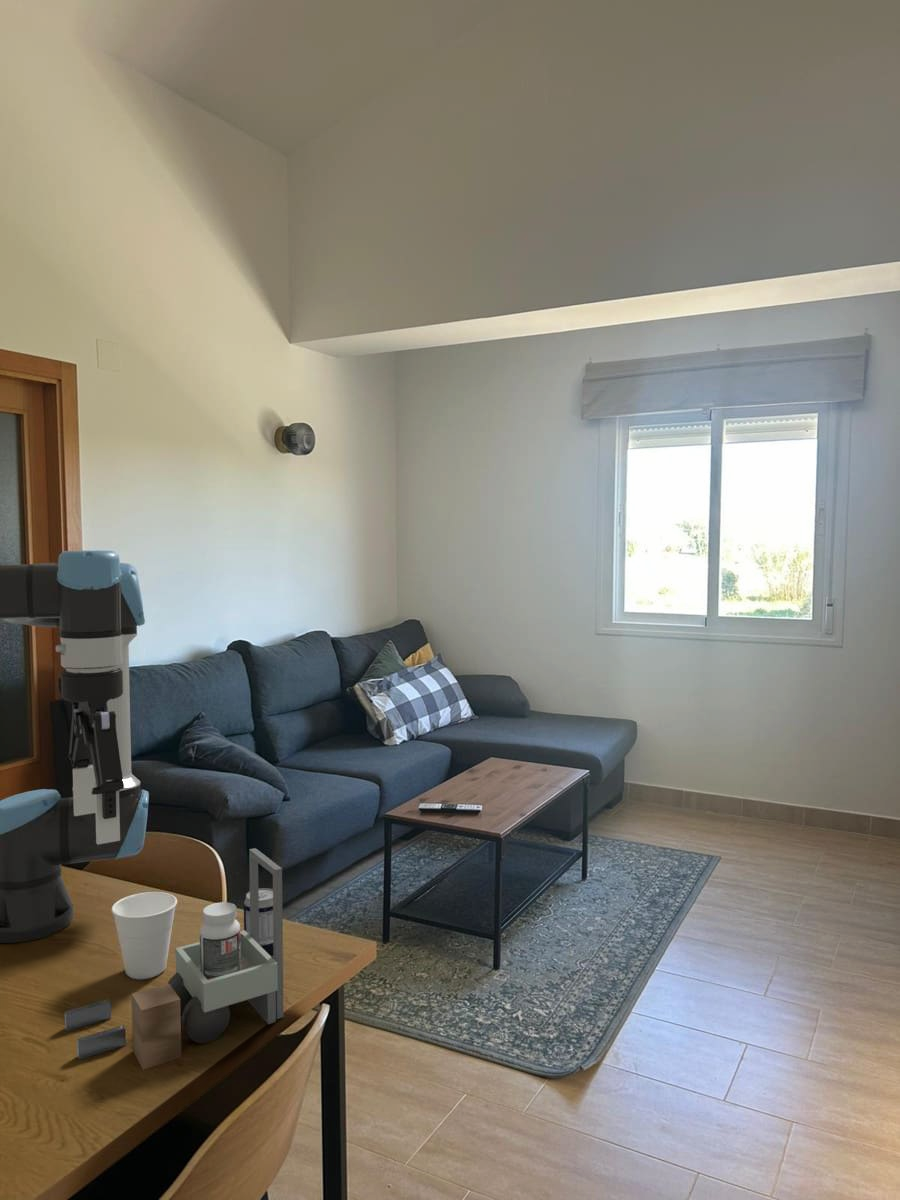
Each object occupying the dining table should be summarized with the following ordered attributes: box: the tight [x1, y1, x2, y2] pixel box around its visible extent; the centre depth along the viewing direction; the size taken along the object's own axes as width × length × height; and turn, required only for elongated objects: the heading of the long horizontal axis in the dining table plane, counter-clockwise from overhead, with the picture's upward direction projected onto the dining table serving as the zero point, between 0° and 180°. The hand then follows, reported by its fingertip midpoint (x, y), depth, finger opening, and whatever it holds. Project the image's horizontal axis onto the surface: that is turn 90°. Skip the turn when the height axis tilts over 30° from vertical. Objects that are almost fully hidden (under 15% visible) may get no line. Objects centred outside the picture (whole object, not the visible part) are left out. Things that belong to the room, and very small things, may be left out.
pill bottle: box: [199, 901, 241, 980], centre depth 126 cm, size 6×6×10 cm
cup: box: [110, 891, 178, 980], centre depth 140 cm, size 10×10×11 cm
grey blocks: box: [64, 998, 127, 1061], centre depth 121 cm, size 9×6×2 cm, turn 34°
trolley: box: [167, 847, 285, 1044], centre depth 126 cm, size 13×14×22 cm
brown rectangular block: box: [131, 983, 182, 1070], centre depth 117 cm, size 5×5×8 cm
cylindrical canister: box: [243, 887, 274, 959], centre depth 141 cm, size 6×6×12 cm
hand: (95, 827), depth 116 cm, fingers open, 13 cm apart
